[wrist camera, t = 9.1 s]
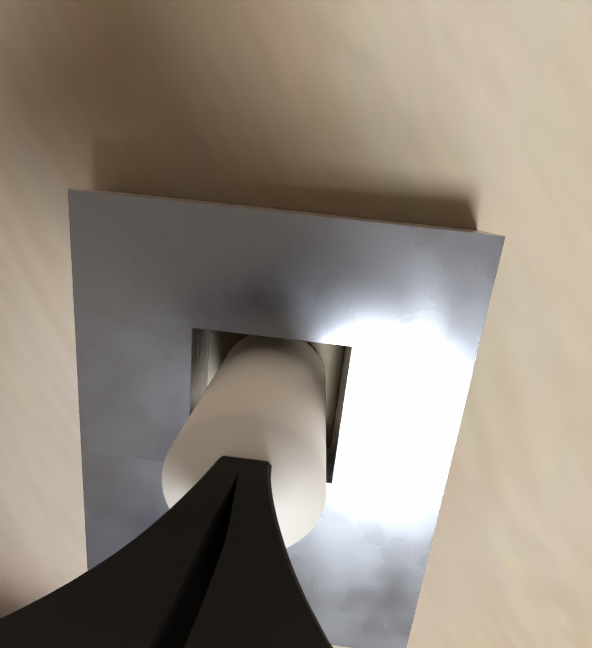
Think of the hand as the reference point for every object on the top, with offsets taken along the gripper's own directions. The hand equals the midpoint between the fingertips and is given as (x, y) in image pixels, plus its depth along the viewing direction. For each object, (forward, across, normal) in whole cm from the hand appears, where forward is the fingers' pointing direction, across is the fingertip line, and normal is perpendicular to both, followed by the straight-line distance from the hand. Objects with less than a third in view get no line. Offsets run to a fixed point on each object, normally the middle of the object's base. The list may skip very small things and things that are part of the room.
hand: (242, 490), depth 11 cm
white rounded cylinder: (+7, 0, 0) cm, 7 cm away
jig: (+7, 0, +2) cm, 7 cm away
